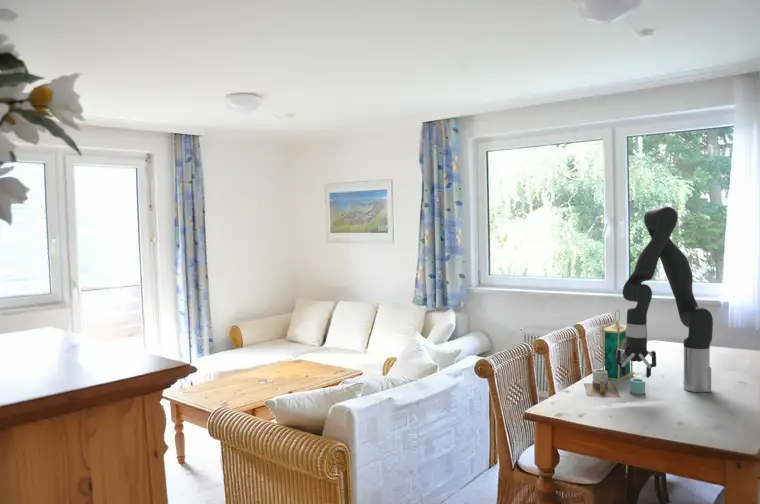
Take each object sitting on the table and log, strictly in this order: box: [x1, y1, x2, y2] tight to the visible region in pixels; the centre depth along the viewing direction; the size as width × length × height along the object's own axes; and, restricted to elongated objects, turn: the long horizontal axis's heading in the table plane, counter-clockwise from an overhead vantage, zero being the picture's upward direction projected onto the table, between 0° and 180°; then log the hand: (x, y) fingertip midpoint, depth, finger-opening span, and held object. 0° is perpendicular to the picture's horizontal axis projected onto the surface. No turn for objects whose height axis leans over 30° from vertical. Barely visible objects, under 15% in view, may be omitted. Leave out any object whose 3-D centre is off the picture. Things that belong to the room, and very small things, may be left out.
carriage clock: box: [599, 309, 636, 382], centre depth 256 cm, size 17×9×30 cm, turn 137°
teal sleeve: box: [629, 377, 646, 396], centre depth 230 cm, size 5×5×6 cm
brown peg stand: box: [583, 380, 621, 399], centre depth 235 cm, size 12×18×6 cm, turn 165°
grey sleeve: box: [592, 368, 609, 389], centre depth 240 cm, size 5×5×6 cm
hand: (635, 376), depth 230 cm, fingers open, 8 cm apart
